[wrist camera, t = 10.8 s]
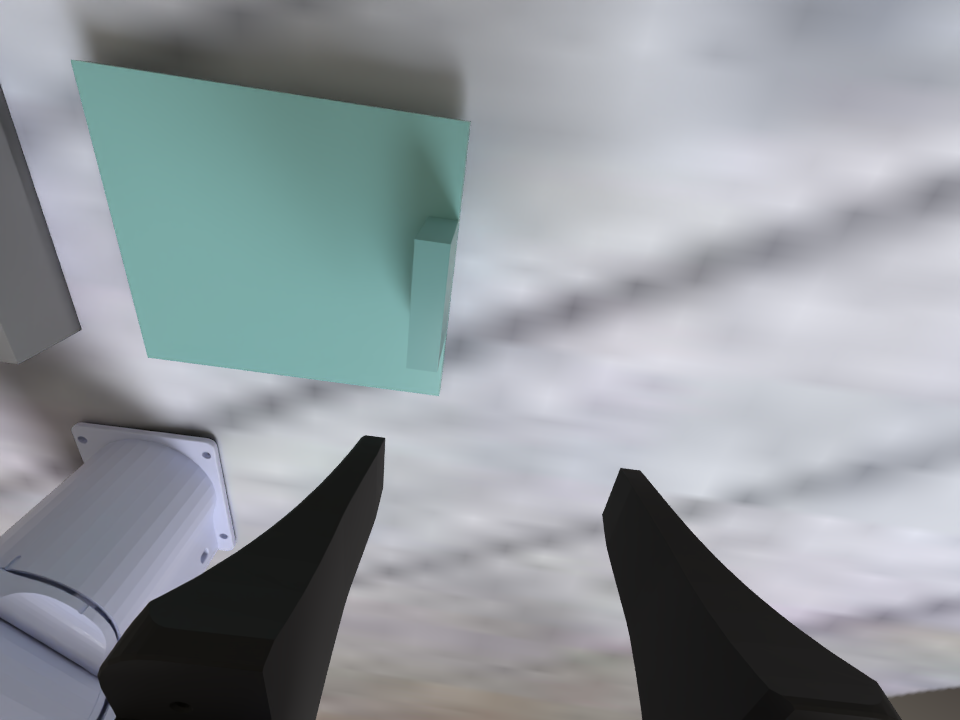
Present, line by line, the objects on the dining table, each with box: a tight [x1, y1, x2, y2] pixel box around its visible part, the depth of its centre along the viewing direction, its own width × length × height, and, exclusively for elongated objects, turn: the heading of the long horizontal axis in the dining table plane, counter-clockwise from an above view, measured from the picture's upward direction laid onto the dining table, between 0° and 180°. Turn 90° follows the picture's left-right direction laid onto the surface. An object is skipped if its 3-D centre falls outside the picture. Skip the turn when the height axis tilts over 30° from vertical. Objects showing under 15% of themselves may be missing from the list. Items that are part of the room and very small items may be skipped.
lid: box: [71, 60, 471, 396], centre depth 18 cm, size 12×14×5 cm
